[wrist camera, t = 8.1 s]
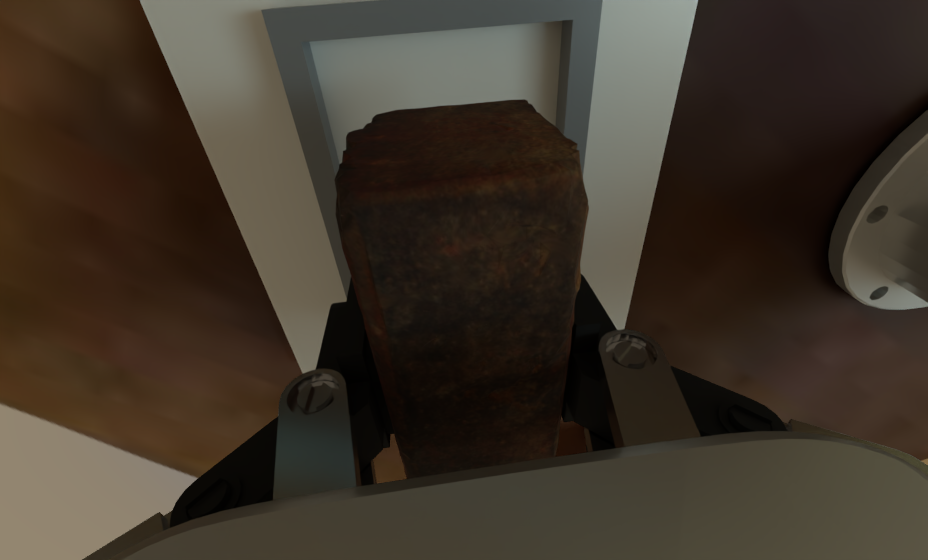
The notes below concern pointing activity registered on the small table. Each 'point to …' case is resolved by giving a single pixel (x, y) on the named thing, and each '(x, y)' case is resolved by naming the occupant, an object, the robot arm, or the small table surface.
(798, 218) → the small table surface
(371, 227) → the brick
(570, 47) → the baseplate
